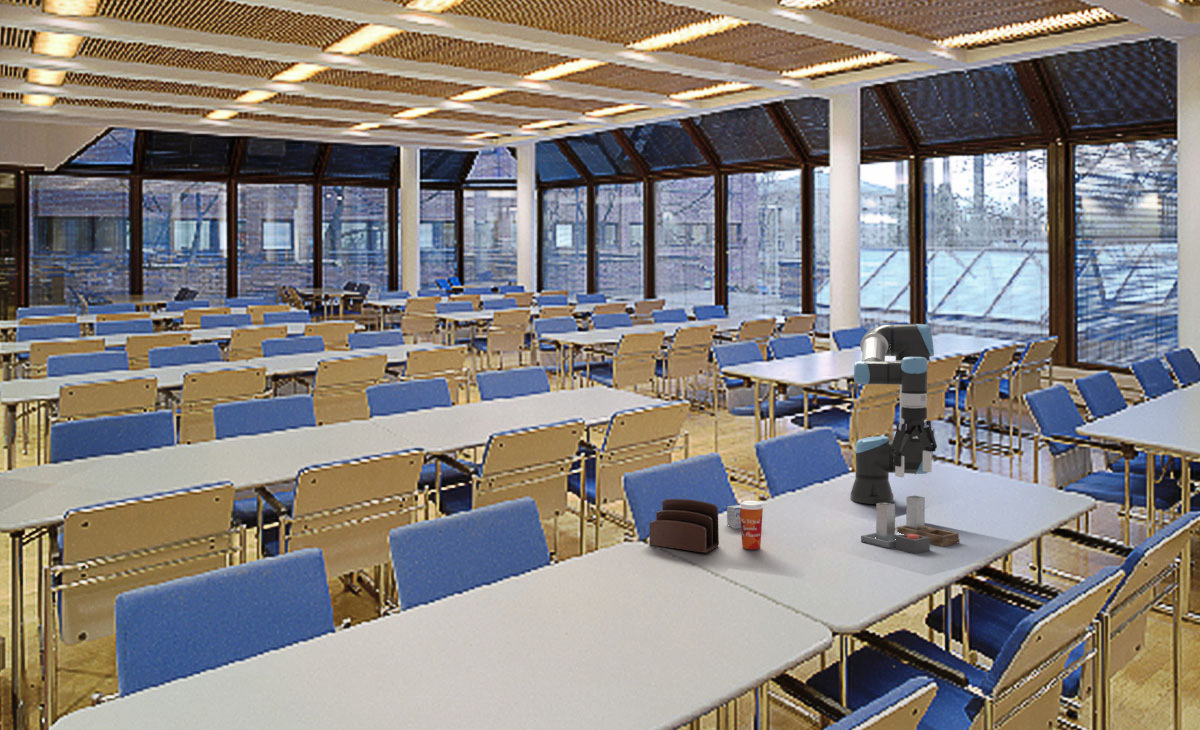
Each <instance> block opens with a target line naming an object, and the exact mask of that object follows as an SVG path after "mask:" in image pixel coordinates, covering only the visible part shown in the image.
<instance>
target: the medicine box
mask: <svg viewBox="0 0 1200 730" xmlns="http://www.w3.org/2000/svg"><path fill="white" fill-rule="evenodd" d="M739 505H740V504H738V505H737V504H736V505H728V506H726V526H727V525H729V526H730V528H731V527H732V528H731V529H733V528H737V529H741V520H740V508H739ZM729 526H728V527H729Z"/></svg>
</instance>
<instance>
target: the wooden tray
mask: <svg viewBox="0 0 1200 730" xmlns="http://www.w3.org/2000/svg"><path fill="white" fill-rule="evenodd" d="M896 531H897V532H899V533H901V534H909V533H912V534H916V535H921V536H925V537H930V545H932V544H933V546H938V547H942V548H943V547H947V546H951V545H955V544H954V543H956V544H958V543H957V542H961V541H960V539H959V537H960V536H959V533H957V532H953V531H948V530H945V529H940V528H934V527H930V526H926V525H925V529H922V530H913V529H909V528H906V524H905V525H900V526H897V527H896ZM897 532H896V533H897Z"/></svg>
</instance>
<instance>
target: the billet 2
mask: <svg viewBox="0 0 1200 730" xmlns="http://www.w3.org/2000/svg"><path fill="white" fill-rule="evenodd" d="M925 499H926V498H925V497H924V496H920V495H919V496H918V495H910V496H906V516H905V517H906V524H905V525H906V528H909V529H913V530H922V529H925V526H926V525H925V519H926V517H925V515H926V514H925V513H926V509H925V508H926V505H925V504H926V500H925Z"/></svg>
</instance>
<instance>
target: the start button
mask: <svg viewBox="0 0 1200 730" xmlns="http://www.w3.org/2000/svg"><path fill="white" fill-rule="evenodd" d="M907 538H911V539H918V538H919V535H916V534H907Z"/></svg>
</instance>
